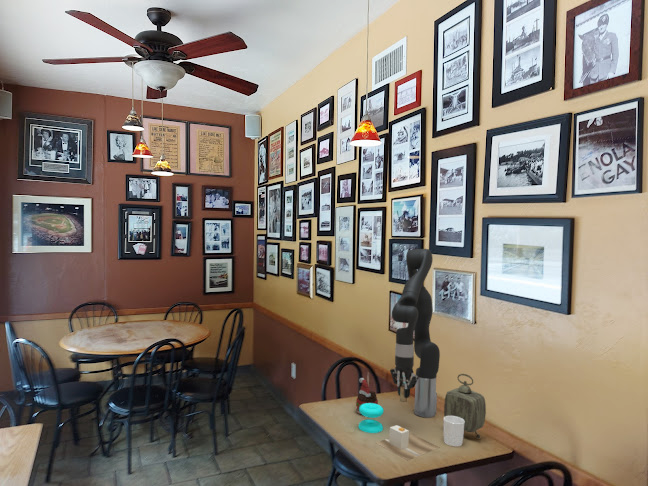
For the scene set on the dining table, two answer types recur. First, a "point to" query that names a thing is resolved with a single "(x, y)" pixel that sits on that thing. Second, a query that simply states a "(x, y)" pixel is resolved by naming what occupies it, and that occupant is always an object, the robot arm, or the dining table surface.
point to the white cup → (453, 430)
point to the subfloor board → (410, 447)
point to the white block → (398, 437)
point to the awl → (402, 393)
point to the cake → (365, 394)
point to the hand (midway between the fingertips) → (403, 396)
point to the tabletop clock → (466, 406)
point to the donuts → (371, 412)
